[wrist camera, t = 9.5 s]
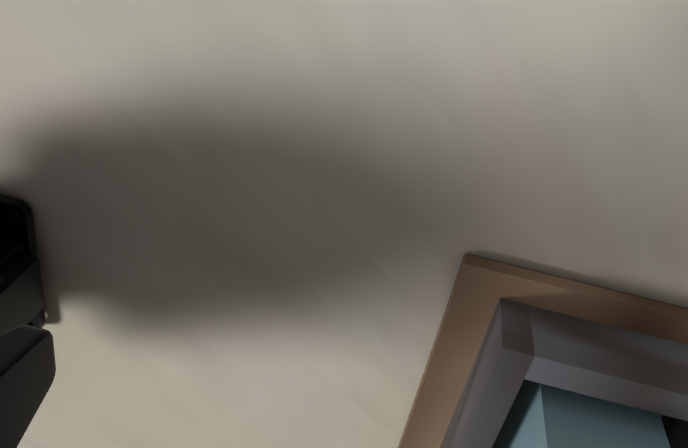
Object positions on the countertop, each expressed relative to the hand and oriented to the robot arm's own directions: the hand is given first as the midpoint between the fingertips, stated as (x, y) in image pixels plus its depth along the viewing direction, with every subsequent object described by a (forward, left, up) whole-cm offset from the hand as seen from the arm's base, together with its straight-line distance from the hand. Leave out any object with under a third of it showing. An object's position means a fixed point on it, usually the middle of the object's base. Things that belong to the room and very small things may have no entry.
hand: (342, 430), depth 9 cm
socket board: (+8, -11, -12) cm, 18 cm away
